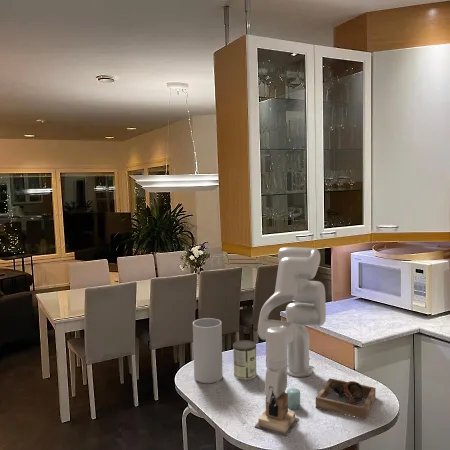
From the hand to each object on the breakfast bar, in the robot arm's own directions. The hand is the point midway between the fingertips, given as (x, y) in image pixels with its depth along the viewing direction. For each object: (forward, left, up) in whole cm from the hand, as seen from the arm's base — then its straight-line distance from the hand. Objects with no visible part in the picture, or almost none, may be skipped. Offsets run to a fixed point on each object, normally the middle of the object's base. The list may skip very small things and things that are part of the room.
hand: (277, 410), depth 158 cm
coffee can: (-30, -28, -5) cm, 41 cm away
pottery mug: (-29, +18, -5) cm, 34 cm away
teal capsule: (-14, +1, -5) cm, 15 cm away
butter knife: (-3, -21, -5) cm, 22 cm away
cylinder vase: (-20, -41, -5) cm, 46 cm away
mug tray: (-26, +18, -5) cm, 32 cm away
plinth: (0, 0, -5) cm, 5 cm away
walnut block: (0, 0, -1) cm, 1 cm away
